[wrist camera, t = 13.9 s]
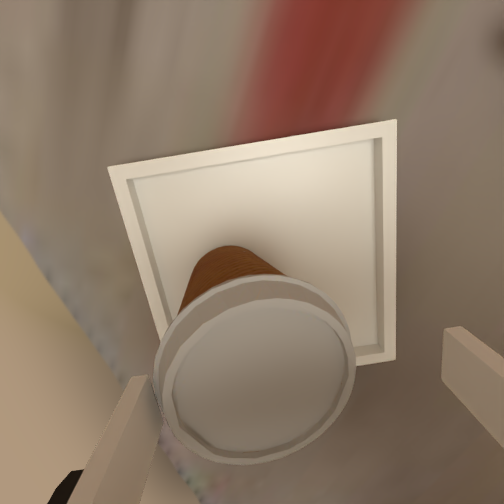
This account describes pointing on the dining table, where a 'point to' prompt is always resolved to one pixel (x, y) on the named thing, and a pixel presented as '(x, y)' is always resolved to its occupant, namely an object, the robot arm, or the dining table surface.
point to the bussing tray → (276, 221)
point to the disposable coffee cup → (252, 361)
